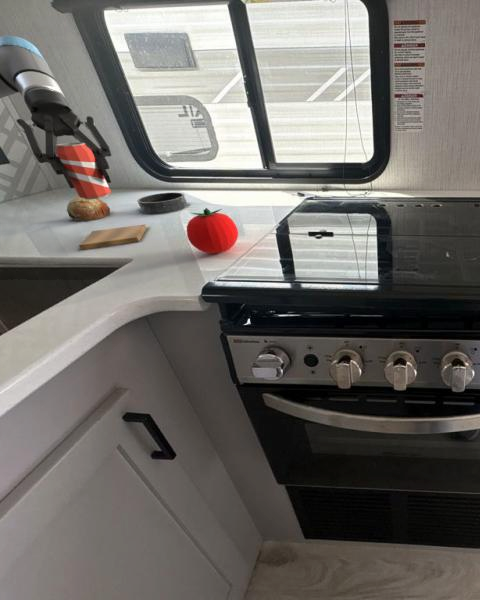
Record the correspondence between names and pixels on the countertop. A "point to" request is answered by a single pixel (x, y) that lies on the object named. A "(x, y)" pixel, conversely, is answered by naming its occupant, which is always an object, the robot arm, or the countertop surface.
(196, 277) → the countertop surface
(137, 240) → the board
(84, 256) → the countertop surface
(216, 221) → the tomato
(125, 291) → the countertop surface
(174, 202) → the pan
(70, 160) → the beverage can
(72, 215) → the bread roll
